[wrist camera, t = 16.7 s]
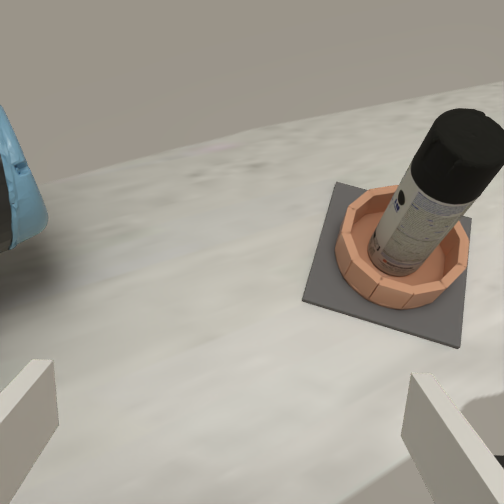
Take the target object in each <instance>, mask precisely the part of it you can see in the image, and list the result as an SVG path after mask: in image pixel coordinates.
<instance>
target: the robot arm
mask: <svg viewBox="0 0 504 504" xmlns="http://www.w3.org/2000/svg"><path fill="white" fill-rule="evenodd" d="M47 223H48V213H47V210H46V207H45V204H44V201H43V199H42V196H41V194H40V192H39V189H38V187H37V184H36V182H35V180H34V177H33V175H32V173H31V171H30V168H29V167H28V165H27V161H26V159H25V157H24V155H23V151H22V149H21V147H20V144H19V142H18V140H17V137H16V135H15V133H14V131H13V129H12V126H11V124H10V122H9V120H8V118H7V115H6V113H5V111H4V109H3V107H2V106H1V105H0V253H1V252H4V251H6V250H11V249H13V248H15V247H16V245H17V244H19V243H21V242H23V241H25V240H27V239H29V238H31V237H33V236H35V235H37V234H39V233H40V232H42V231H43V230H44V229H45V227H46V225H47ZM58 426H59V420H58V408H57V397H56V385H55V373H54V362H53V360H38V359H32V360H31V361H30V362H29V363H28V364H27V365H26V366H25V367H24V368H23V370H22V371H21V372H20V373H19V374H18V375H17V376H16V377H15V378H14V379H13V380H12V381H11V382H10V384H9V385H8V386H7V387H6V388H5V389H4V390H3V391H2V392H1V393H0V504H9V503H10V501H11V500H12V498H13V496H14V495H15V493H16V492H17V490H18V489H19V487H20V485H21V484H22V482H23V481H24V479H25V478H26V476H27V474H28V473H29V471H30V470H31V468H32V467H33V465H34V463H35V462H36V460H37V459H38V457H39V455H40V454H41V452H42V451H43V449H44V448H45V446H46V444H47V443H48V441H49V440H50V438H51V437H52V435H53V433H54V432H55V430H56V429H57V427H58ZM401 437H402V439H403V441H404V443H405V445H406V447H407V449H408V451H409V453H410V455H411V457H412V459H413V461H414V463H415V465H416V467H417V469H418V471H419V473H420V475H421V477H422V479H423V481H424V483H425V485H426V487H427V489H428V491H429V493H430V495H431V497H432V499H433V501H434V503H435V504H504V456H495V455H493V454H492V453H491V452H490V450H489V449H488V448H487V446H486V445H485V444H484V442H483V441H482V440H481V438H480V437H479V436H478V435H477V433H476V432H475V430H474V429H473V428H472V426H471V425H470V424H469V422H468V421H467V420H466V419H465V417H464V416H463V414H462V413H461V412H460V411H459V409H458V408H457V407H456V405H455V404H454V403H453V401H452V400H451V399H450V397H449V396H448V395H447V393H446V392H445V391H444V389H443V388H442V387H441V385H440V384H439V383H438V381H437V380H436V379H435V377H434V376H433V375H432V374H430V373H411V377H410V383H409V389H408V395H407V401H406V407H405V413H404V420H403V426H402V432H401Z"/></svg>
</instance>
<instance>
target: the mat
mask: <svg viewBox="0 0 504 504" xmlns="http://www.w3.org/2000/svg"><path fill="white" fill-rule="evenodd" d="M366 191H368V190H365V189H361V188H358V187H354V186H350V185H347V184H343V183H339V182H336V184H335V188H334V191H333V195H332V198H331V202H330V205H329V209H328V212H327V216H326V219H325V223H324V226H323V230H322V233H321V237H320V240H319V244H318V247H317V250H316V254H315V257H314V261H313V264H312V268H311V271H310V275H309V278H308V282H307V285H306V289H305V292H304V296H303V299H302V301H304V302H307V303H310V304H314V305H317V306H320V307H323V308H327V309H330V310H333V311H336V312H340V313H343V314H346V315H349V316H353V317H356V318H359V319H362V320H366V321H369V322H372V323H375V324H379V325H382V326H385V327H389V328H392V329H395V330H398V331H402V332H405V333H408V334H411V335H415V336H418V337H421V338H424V339H428V340H431V341H434V342H437V343H441V344H444V345H447V346H450V347H454V348H457V349H458V348H460V345H461V333H462V322H463V311H464V299H465V288H466V277H467V267H466V269H465V270H464V271H463V272H462V273H461V274H460V275H459V276H458V277H457V278H456V279H455V280H454V281H453V282H452V283H451V284H450V285H449V286H448V288H447V289H446V290H444V291H443V292H442V293H441V294H440V295H439V296H438V297H437V298H436V299H435V300H434V301H433V302H432V303H429V304H426V305H424V306H422V307H418V308H415V309H408V310H397V309H390V308H386V307H382V306H379V305H376V304H374V303H372V302H370V301H368V300H366V299H365V298H363V297H362V296H360V295H359V294H358V293H356V292H355V291H354V290H353V289H352V288H351V287H350V286H349V285H348V283H347V282H346V281H345V279H344V278H343V276H342V274H341V273H340V270H339V268H338V265H337V262H336V256H335V245H336V240H337V237H338V234H339V230H340V226H341V223H342V221H343V218H344V216H345V213H346V210H347V208H348V206H349V205H350V204H351V203H353V202H354V201H355V200H356V199H358V198H359V197H360V196H361V195H363V194H364V193H365V192H366ZM471 220H472V218H469V217H465V216H462V217H461V218H460V219H459V221H460V223H461V225H462V227H463V229H464V231H465V232H466V234H467V236H468V238H469V243H470V231H471ZM468 254H469V249H468ZM467 265H468V260H467Z"/></svg>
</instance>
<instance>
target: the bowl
mask: <svg viewBox="0 0 504 504" xmlns="http://www.w3.org/2000/svg"><path fill="white" fill-rule="evenodd" d="M398 186H399V185H394V186H387V187H381V188H375V189H369V190H368V191H366V192H365V193H364V194H363V195H361V196H360V197H359V198H358V199H356V200H355V201H354V202H353V203H351V204H350V205H349V206H348V208H347V210H346V213H345V216H344V218H343V221H342V223H341V226H340V230H339V234H338V237H337V240H336V245H335V256H336V262H337V265H338V268H339V270H340V273H341V274H342V276H343V278H344V279H345V281H346V282H347V283H348V285H349V286H350V287H351V288H352V289H353V290H354V291H355V292H356V293H358V294H359V295H360V296H362V297H363V298H365V299H366V300H368V301H370V302H372V303H374V304H376V305H379V306H382V307H386V308H390V309H397V310H408V309H415V308H418V307H422V306H424V305H426V304H429V303H432V302H433V301H434V300H435V299H436V298H437V297H438V296H439V295H440V294H441V293H442V292H443V291H444V290H446V289H447V288H448V286H449V285H450V284H451V283H452V282H453V281H454V280H455V279H456V278H457V277H458V276H459V275H460V274H461V273H462V272H463V271H464V270H465V269H466V267H467V260H468V249H469V238H468V236H467V234H466V232H465V231H464V229H463V227H462V225H461V223H460V221H458V222H457V223H456V224H455V226H454V227H453V228H452V229H451V230H450V232H449V233H448V234H447V235H446V236H445V238H444V239H443V240H442V241H441V242H440V244H439V245H438V246H437V247H436V248H435V250H434V251H433V252H432V253H431V254H430V256H429V257H428V258H427V259H426V260H425V262H424V263H423V264H422V265H421V266H420V268H419V269H418V270H416V271H415V272H413V273H411V274H409V275H407V276H401V277H397V276H392V275H388V274H385V273H383V272H381V271H380V270H379V269H378V268H377V267H375V265H374V264H373V263H372V261H371V260H370V258H369V255H368V244H369V241H370V238H371V236H372V234H373V232H374V231H375V229H376V227H377V225H378V223H379V221H380V219H381V217H382V216H383V214H384V212H385V210H386V208H387V206H388V205H389V203H390V201H391V199H392V197H393V195H394V193H395V191H396V189H397V188H398Z"/></svg>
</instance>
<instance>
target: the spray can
mask: <svg viewBox="0 0 504 504" xmlns="http://www.w3.org/2000/svg"><path fill="white" fill-rule="evenodd" d="M503 165H504V130H503V129H502V128H501V126H500V125H499V124H497V123H496V122H495V121H494V120H492V119H491V118H489V117H487V116H485V114H484V113H483V112H481V111H477V110H475V109H462V108H458V109H453V110H449V111H446V112H444V113H443V114H441V115H440V116H439V117H438V118H437V119H436V120H435V122H434V123H433V125H432V127H431V129H430V130H429V132H428V134H427V136H426V137H425V139H424V141H423V143H422V144H421V146H420V148H419V149H418V151H417V153H416V154H415V156H414V158H413V160H412V162H411V163H410V165H409V168H408V169H407V171H406V173H405V175H404V177H403V178H402V180H401V182H400V184H399V186H398V188H397V189H396V191H395V193H394V195H393V197H392V199H391V201H390V203H389V205H388V206H387V208H386V210H385V212H384V214H383V216H382V217H381V219H380V221H379V223H378V225H377V227H376V229H375V231H374V232H373V234H372V236H371V238H370V241H369V244H368V255H369V258H370V260H371V261H372V263H373V264H374V265H375V267H377V268H378V269H379V270H380V271H381V272H383V273H385V274H388V275H392V276H397V277H401V276H407V275H409V274H411V273H413V272H415V271H416V270H418V269H419V268H420V266H421V265H422V264H423V263H424V262H425V260H426V259H427V258H428V257H429V256H430V254H431V253H432V252H433V251H434V250H435V248H436V247H437V246H438V245H439V244H440V242H441V241H442V240H443V239H444V238H445V236H446V235H447V234H448V233H449V232H450V230H451V229H452V228H453V227H454V226H455V224H456V223H457V222H458V221H459V219H460V218H461V217H462V216H463V215H464V214H465V212H466V211H467V210H468V209H469V208H470V206H471V205H472V204H473V203H474V201H475V200H476V199H477V198H478V197H479V196H480V195H481V194H482V192H483V191H484V190H485V188H486V187H487V186H488V184H489V183H490V182H491V180H492V179H493V178H494V177H495V175H496V174H497V173H498V172H499V170H500V169H501V168H502V167H503Z"/></svg>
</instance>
